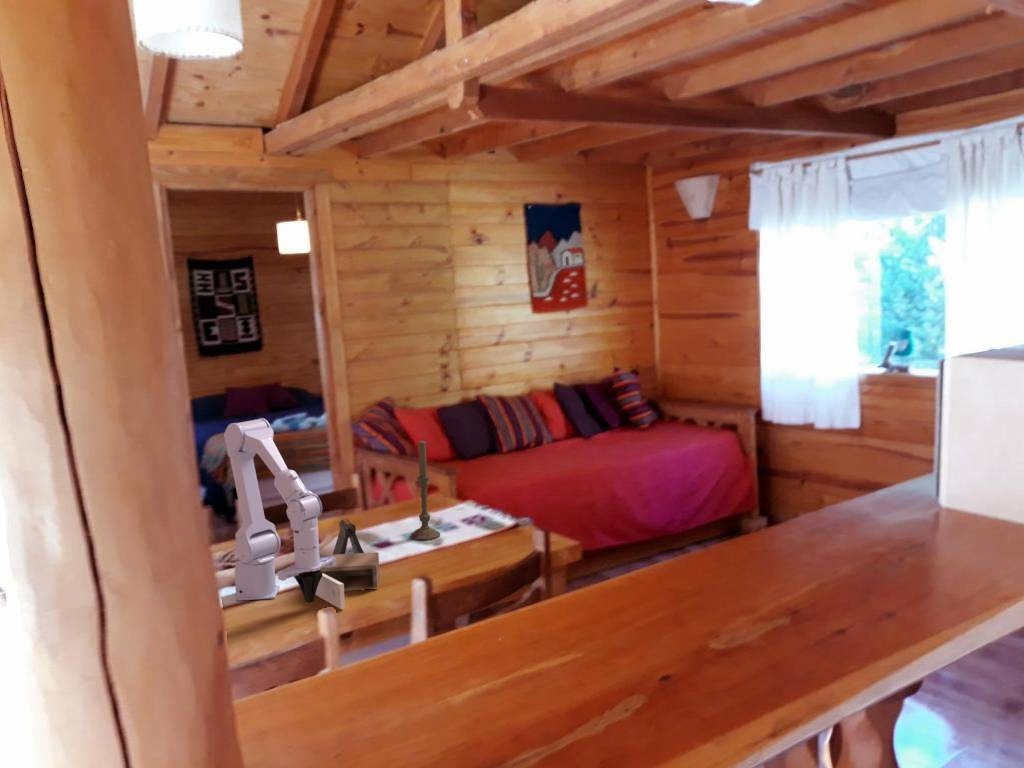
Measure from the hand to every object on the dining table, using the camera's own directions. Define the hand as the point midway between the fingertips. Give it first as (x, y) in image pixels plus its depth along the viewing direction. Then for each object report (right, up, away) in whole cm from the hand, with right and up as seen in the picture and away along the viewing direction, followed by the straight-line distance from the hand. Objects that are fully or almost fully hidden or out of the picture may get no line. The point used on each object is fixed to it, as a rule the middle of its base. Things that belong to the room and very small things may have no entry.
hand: (309, 601), depth 200 cm
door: (+3, -1, +4) cm, 5 cm away
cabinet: (+6, 0, +16) cm, 17 cm away
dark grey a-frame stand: (+3, +2, +32) cm, 33 cm away
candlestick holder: (+22, +5, +56) cm, 61 cm away
